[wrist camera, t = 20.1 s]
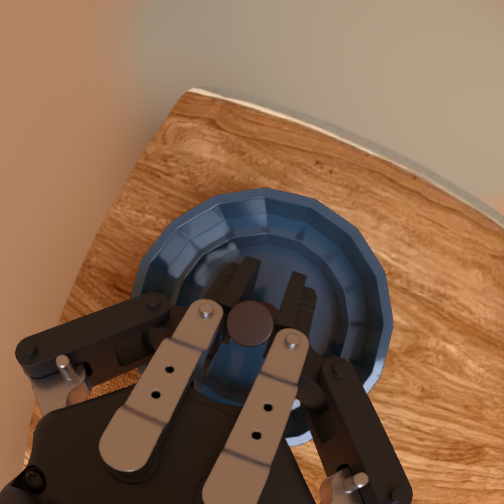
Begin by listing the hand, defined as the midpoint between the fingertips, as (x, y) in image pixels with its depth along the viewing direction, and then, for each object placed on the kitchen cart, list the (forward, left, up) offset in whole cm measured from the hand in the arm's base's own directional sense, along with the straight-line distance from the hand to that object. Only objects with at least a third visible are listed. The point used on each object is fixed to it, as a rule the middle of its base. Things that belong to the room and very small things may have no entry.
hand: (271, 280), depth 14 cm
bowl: (-1, -2, -6) cm, 6 cm away
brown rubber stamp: (-1, -2, -5) cm, 5 cm away
